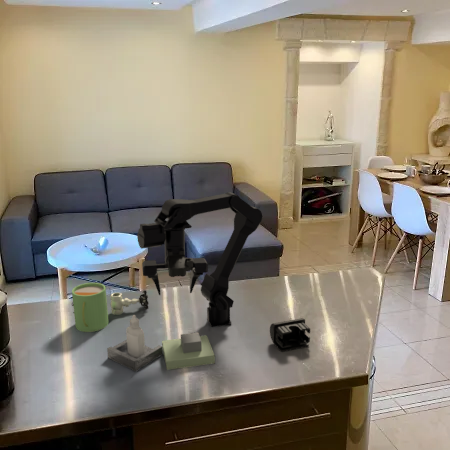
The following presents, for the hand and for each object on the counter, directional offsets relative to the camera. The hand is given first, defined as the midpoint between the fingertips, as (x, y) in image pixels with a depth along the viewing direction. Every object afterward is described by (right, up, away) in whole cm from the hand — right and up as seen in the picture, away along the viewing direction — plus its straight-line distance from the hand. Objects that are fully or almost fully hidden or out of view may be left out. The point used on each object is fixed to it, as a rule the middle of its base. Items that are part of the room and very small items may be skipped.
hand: (175, 293), depth 145 cm
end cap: (+34, -14, -2) cm, 37 cm away
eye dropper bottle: (-10, -16, -8) cm, 20 cm away
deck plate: (+4, -16, -9) cm, 19 cm away
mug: (-28, -11, +8) cm, 31 cm away
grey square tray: (-10, -16, -8) cm, 21 cm away
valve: (-17, -9, +18) cm, 27 cm away
